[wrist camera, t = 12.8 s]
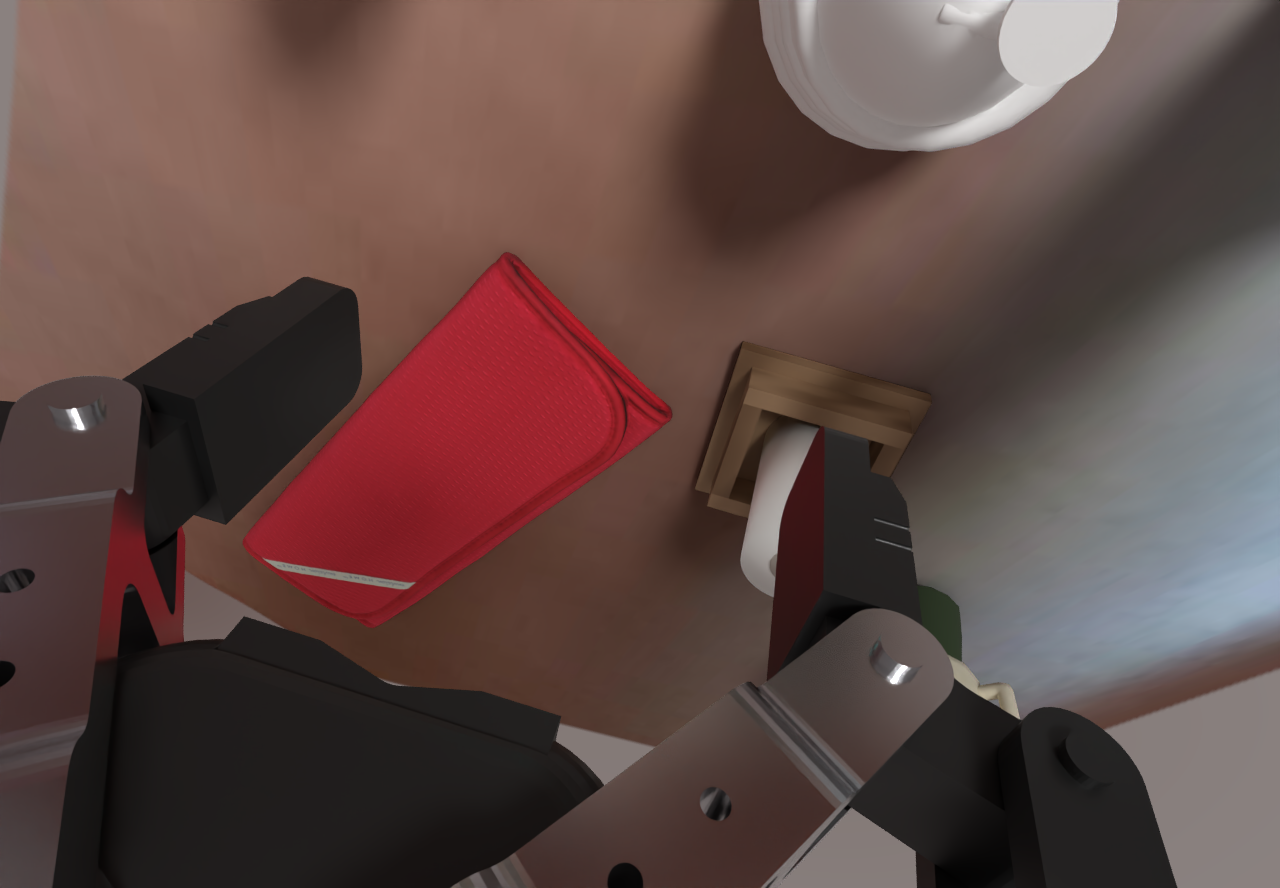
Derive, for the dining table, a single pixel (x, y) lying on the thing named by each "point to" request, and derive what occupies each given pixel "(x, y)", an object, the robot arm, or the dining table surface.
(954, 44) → the honey pot
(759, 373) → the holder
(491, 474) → the red folded cloth
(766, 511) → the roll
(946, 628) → the character mug
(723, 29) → the dining table surface
